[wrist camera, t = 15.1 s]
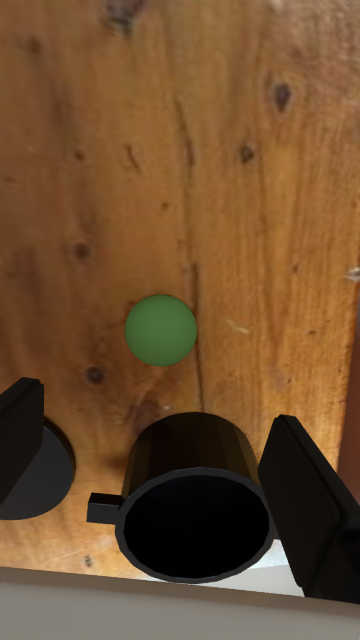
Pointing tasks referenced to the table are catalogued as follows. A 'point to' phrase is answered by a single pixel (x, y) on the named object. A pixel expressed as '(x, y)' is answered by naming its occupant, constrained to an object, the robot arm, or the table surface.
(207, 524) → the pan
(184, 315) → the ball
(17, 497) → the lid
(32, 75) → the table surface
